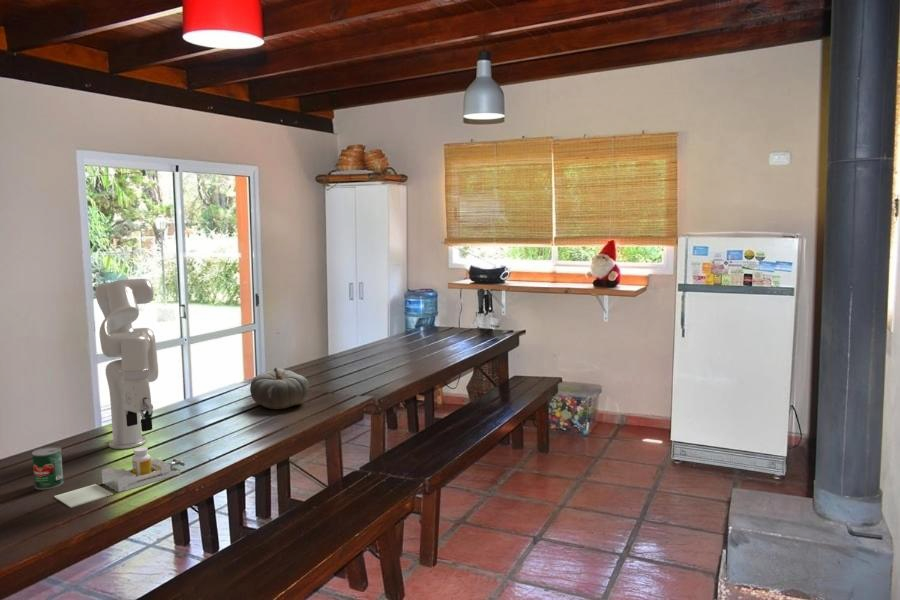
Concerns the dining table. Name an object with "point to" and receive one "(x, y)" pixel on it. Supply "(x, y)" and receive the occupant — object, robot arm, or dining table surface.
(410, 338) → the dining table surface
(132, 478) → the vise
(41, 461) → the canned tomato
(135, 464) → the supplement bottle
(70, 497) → the pad
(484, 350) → the dining table surface
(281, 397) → the gourd
